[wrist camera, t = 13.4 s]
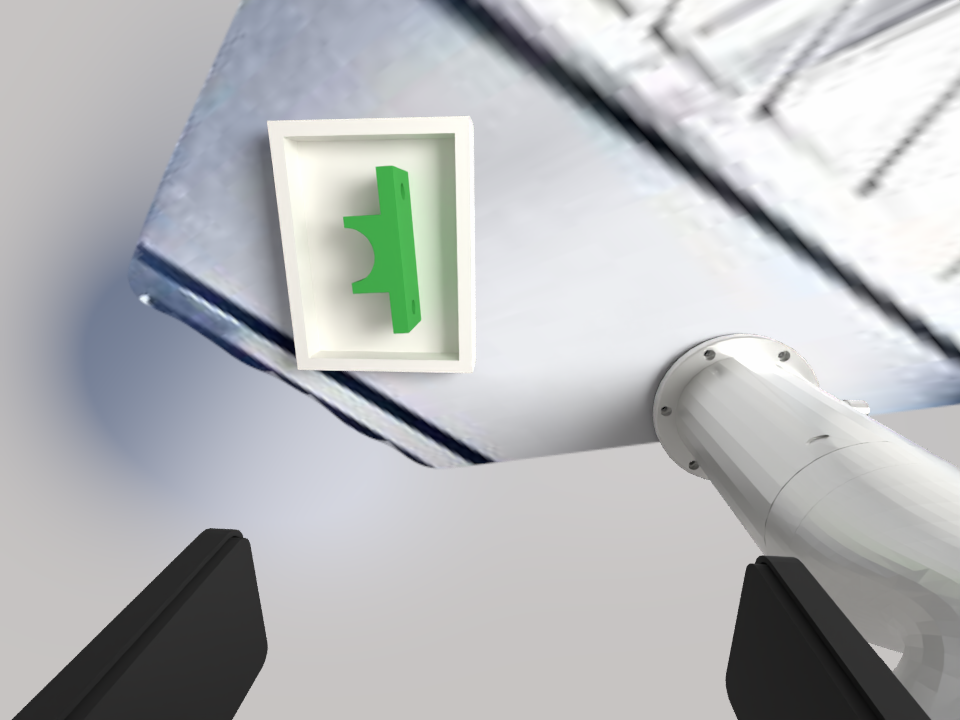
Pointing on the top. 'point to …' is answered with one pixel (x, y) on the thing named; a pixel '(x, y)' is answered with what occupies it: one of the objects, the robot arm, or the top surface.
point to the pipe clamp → (391, 249)
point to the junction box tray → (350, 256)
